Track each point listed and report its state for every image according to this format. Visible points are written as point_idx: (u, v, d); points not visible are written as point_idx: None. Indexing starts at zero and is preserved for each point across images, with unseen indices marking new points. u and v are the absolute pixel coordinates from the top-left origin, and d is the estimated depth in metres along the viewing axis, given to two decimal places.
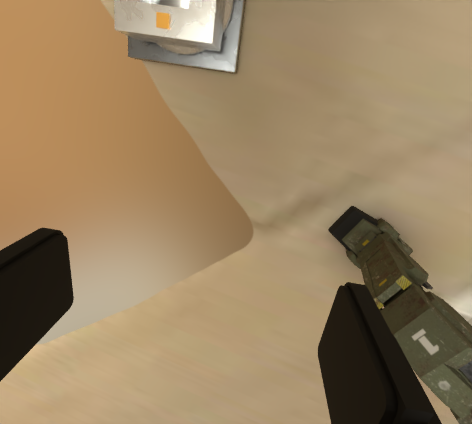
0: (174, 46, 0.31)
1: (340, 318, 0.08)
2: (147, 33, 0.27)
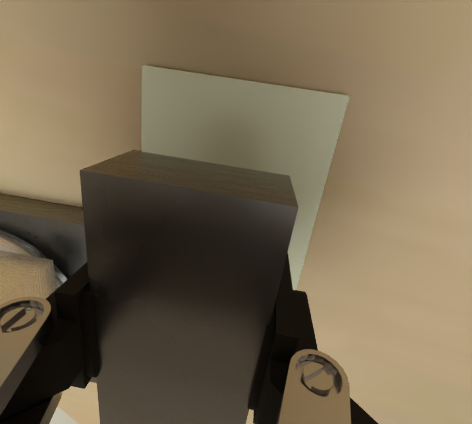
0: None
1: None
2: None
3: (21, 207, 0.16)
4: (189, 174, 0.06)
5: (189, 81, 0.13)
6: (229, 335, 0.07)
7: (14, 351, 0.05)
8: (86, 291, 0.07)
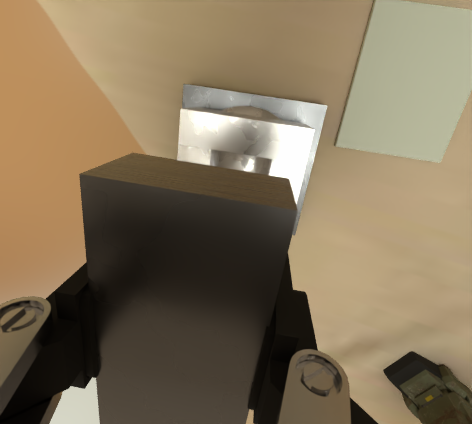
0: None
1: None
2: None
3: None
4: (188, 177, 0.06)
5: (404, 7, 0.22)
6: (229, 338, 0.07)
7: (14, 351, 0.05)
8: (86, 291, 0.07)
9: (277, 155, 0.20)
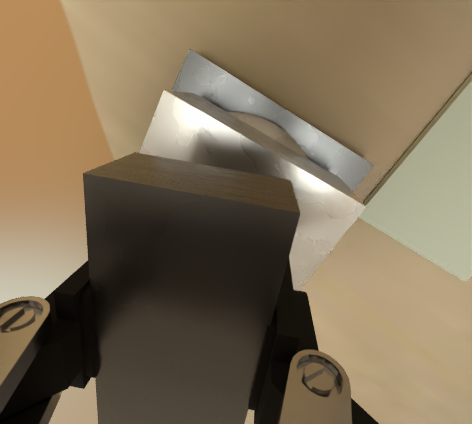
0: None
1: None
2: None
3: None
4: (192, 178, 0.06)
5: None
6: (229, 338, 0.07)
7: (13, 351, 0.05)
8: (85, 291, 0.07)
9: None
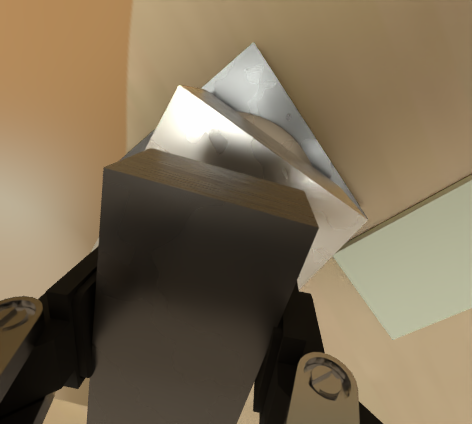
0: None
1: None
2: None
3: None
4: (210, 180, 0.06)
5: None
6: (231, 343, 0.07)
7: (6, 350, 0.05)
8: (78, 291, 0.07)
9: None
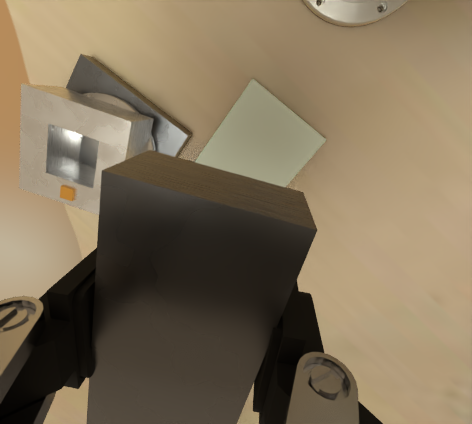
0: None
1: None
2: (52, 198, 0.27)
3: (151, 105, 0.29)
4: (208, 183, 0.06)
5: (268, 97, 0.29)
6: (230, 344, 0.07)
7: (7, 350, 0.05)
8: (78, 290, 0.07)
9: (103, 138, 0.24)
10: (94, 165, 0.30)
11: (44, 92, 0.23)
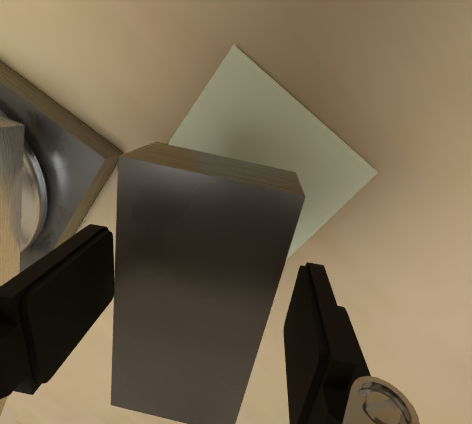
0: None
1: (298, 294, 0.09)
2: None
3: (33, 97, 0.15)
4: (210, 165, 0.07)
5: (265, 84, 0.14)
6: (237, 309, 0.08)
7: None
8: (27, 292, 0.06)
9: None
10: None
11: None
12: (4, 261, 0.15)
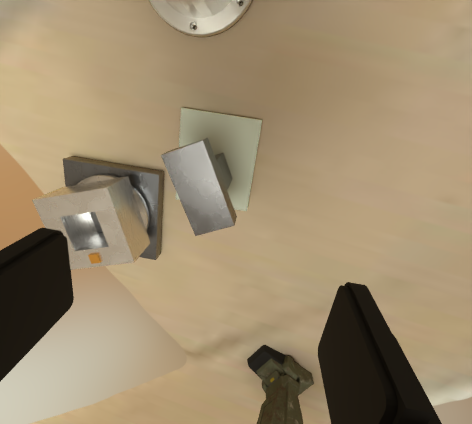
0: None
1: (340, 318, 0.08)
2: (87, 267, 0.35)
3: (124, 167, 0.37)
4: (182, 147, 0.27)
5: (199, 114, 0.34)
6: (207, 179, 0.27)
7: None
8: None
9: (96, 208, 0.32)
10: None
11: (47, 198, 0.32)
12: (142, 233, 0.37)
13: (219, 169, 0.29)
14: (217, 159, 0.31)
